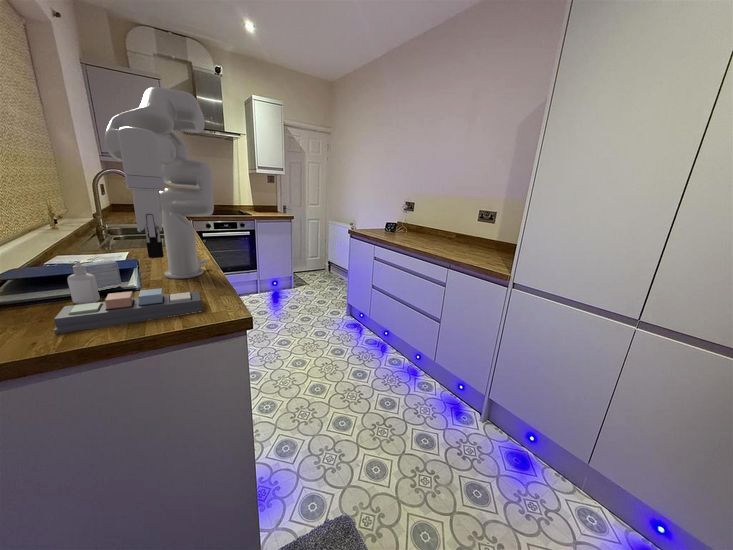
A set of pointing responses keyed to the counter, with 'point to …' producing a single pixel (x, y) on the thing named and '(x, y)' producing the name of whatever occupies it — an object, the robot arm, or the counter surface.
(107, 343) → the counter surface
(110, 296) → the key
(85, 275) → the eye dropper bottle
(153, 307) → the keypad housing
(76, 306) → the key
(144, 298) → the key
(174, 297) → the key
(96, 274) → the medicine box
